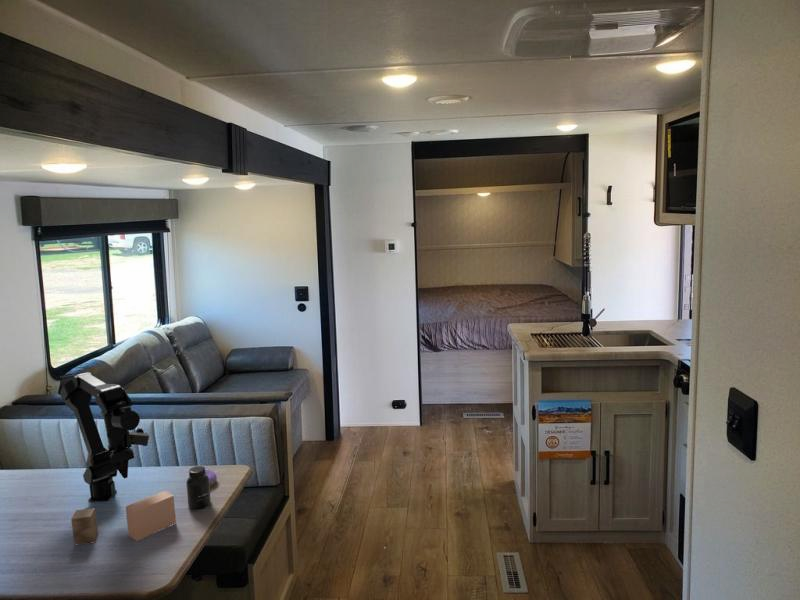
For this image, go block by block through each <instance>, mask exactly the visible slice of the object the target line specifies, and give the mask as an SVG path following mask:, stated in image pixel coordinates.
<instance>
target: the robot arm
mask: <svg viewBox="0 0 800 600" xmlns="http://www.w3.org/2000/svg"><path fill="white" fill-rule="evenodd" d="M59 393H60V397H61V400H62V401H64V403H65V406H66V407H67V408H68V409H69V410H71V411H73V413H74V416H75V418H76V421H77V425H78V427H79V429H80V433H81V436H82V438H83V441H84V445H85V448H86V450H87V458H86V461H85V466H86V469H85V471H84V472H83V475H82V477H83V482H84V483H86V484H87V485H88V486H89V493H90V497H89V498H88V499H87V500H88V502H109V500H111V498H112V497H113V496H115V494H116V493H117V492H118V490H116V483H115V481H114V477H117V475H118V472H119V474H120V475H121V477H122V478H123V479H127V478H128V475H129V460H133V459H135V453H134V450H133V448H131V447H132V445H134V446H142V447H147V446H149V445H148V443H149V440H150V435H149V433H148V432H144V429H143V428H140V427H138V426H139V424H140V421H141V417H140V415H139V414H138V412H136V411H135V410H132V406H133V403H132V400H131V398H130V397H129V395H128V393H127V391H125V389H124V388H123V386H121V385H119V384H116V383H105V381H102V380H101V379H99V378H97V377H96V376H93V374H92V373H91V372H88V371H87V372H83V373H79V374H78V373H77V374H75V375H73V377H71V379H70V380H69V381H68V382H66V383H65V384H64V385H62V387H61V389H60V392H59ZM93 397H94V400H95V404H96V405H97V406H98V408H99V409H100V414H102V416H103V421H104V426H105V433H106V438H107V447H108V449H107V448H105V446H104V443H103V442H102V438H101V435H100V432H99V429H98V426H97V424H96V421H95V417H94V415H93V411H92V409H91V407H90V405H91V402H92V398H93ZM136 428H137V429H136ZM135 429H136V430H135Z"/></svg>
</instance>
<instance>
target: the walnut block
mask: <svg viewBox="0 0 800 600" xmlns="http://www.w3.org/2000/svg"><path fill="white" fill-rule="evenodd" d="M71 528H72V536H73V543H74V544H73V545H75V544H82V545H85V544H84V543H89V544H92V543H91V542H94V541H96V539H97V537H98V535H99V530H98V521H97V513H96V508H95V507H93V508H84V509H76V510H75V512H74V513H73V514H72V517H71ZM97 534H98V535H97ZM96 536H97V537H96ZM94 543H95V542H94Z"/></svg>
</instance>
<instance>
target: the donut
mask: <svg viewBox="0 0 800 600" xmlns="http://www.w3.org/2000/svg"><path fill="white" fill-rule="evenodd" d="M205 472H206V474H205V475H207V476H208V477H209V483H210V488H211V487H212V486H214V485H215V484H216V482H217V478H218V477H217V474H216V473H215V472H214V471H213V470H210V469H205Z"/></svg>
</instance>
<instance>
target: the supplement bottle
mask: <svg viewBox="0 0 800 600" xmlns="http://www.w3.org/2000/svg"><path fill="white" fill-rule="evenodd" d="M205 470H206V468H205V466H202V465H197V466H193V467H191V468H189V470H188V473H189V474H188V477H187V479H186V483H185V484H186V494H187V505H188V508H189V509H190V510H193V509H194V511H195V510H196V511H199V509H200V510H203V509H206V508H208V507H209V506H210V505H211V502H212V501H211V487H210V483H209V477H208V476H207V475H205V474H206V472H205Z"/></svg>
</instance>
